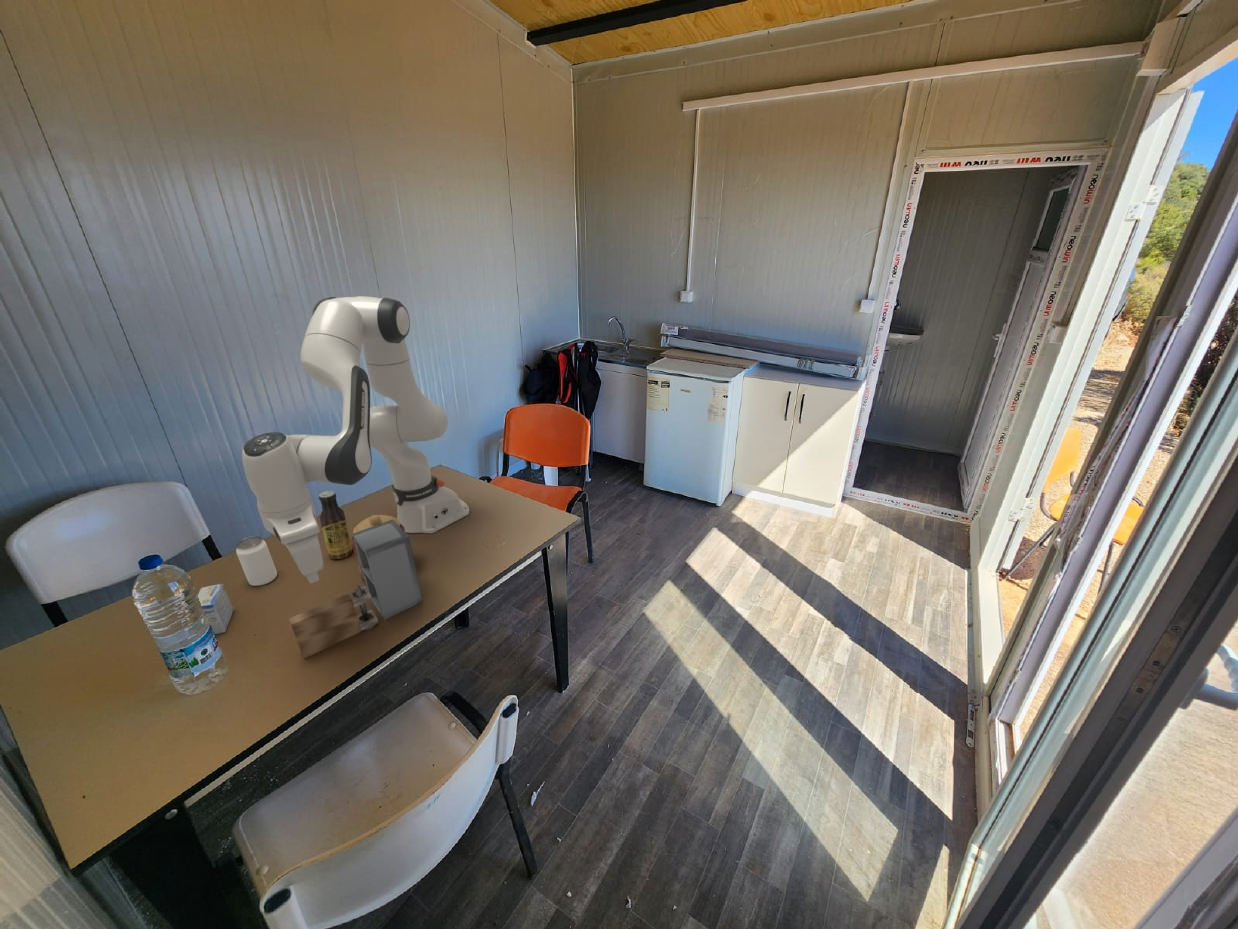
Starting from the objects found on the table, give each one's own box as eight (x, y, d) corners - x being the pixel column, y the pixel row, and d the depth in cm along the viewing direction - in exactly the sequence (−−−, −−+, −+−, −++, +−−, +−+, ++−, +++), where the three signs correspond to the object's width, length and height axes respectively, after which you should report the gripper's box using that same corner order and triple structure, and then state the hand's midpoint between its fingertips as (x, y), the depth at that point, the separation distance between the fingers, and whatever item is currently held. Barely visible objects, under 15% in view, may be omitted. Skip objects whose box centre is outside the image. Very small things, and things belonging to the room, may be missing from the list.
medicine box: (213, 615, 120) (200, 587, 116) (235, 610, 122) (222, 582, 118) (203, 638, 113) (189, 609, 110) (226, 632, 115) (213, 603, 111)
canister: (376, 554, 142) (362, 502, 134) (419, 556, 142) (409, 504, 134) (351, 584, 131) (335, 528, 123) (399, 586, 130) (386, 530, 122)
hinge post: (373, 617, 120) (362, 579, 115) (378, 625, 118) (368, 587, 112) (357, 624, 118) (346, 586, 113) (362, 632, 115) (351, 594, 110)
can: (263, 588, 129) (249, 551, 123) (242, 585, 130) (227, 547, 124) (283, 573, 134) (270, 536, 129) (263, 569, 135) (249, 533, 130)
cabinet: (407, 582, 132) (392, 519, 123) (422, 601, 125) (408, 536, 116) (370, 598, 126) (352, 533, 117) (384, 619, 119) (366, 552, 110)
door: (373, 616, 120) (364, 584, 116) (379, 625, 118) (370, 592, 113) (300, 650, 110) (287, 616, 106) (304, 660, 108) (292, 626, 104)
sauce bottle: (332, 563, 138) (314, 502, 129) (326, 553, 142) (308, 493, 134) (357, 554, 142) (341, 494, 133) (351, 544, 146) (334, 486, 138)
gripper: (259, 499, 102) (279, 553, 108) (282, 542, 89) (303, 601, 95) (294, 489, 106) (311, 541, 112) (320, 529, 93) (338, 586, 99)
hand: (307, 569), depth 104 cm, fingers open, 8 cm apart
